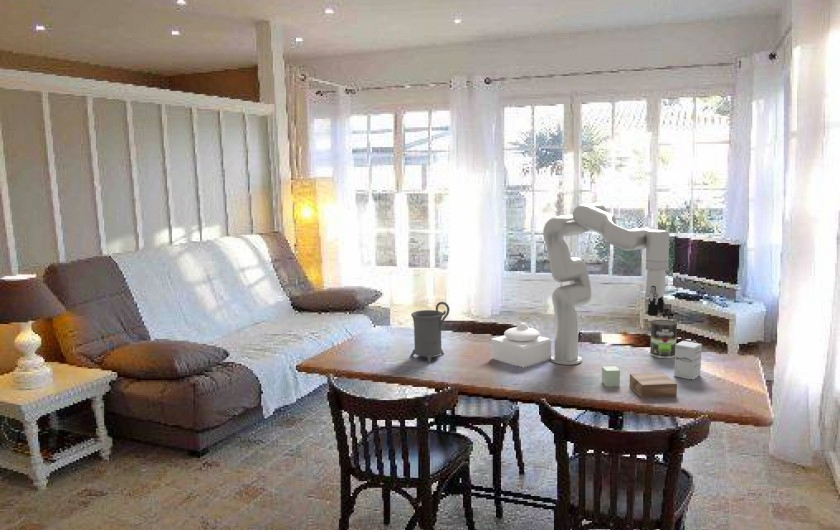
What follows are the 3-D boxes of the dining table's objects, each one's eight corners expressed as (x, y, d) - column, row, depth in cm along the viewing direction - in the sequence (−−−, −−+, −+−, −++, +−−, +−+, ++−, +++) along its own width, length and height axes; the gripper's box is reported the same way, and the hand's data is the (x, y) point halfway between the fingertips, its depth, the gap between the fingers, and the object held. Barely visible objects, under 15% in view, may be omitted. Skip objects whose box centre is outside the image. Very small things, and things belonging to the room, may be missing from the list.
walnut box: (629, 387, 231) (629, 374, 230) (662, 386, 231) (662, 372, 230) (642, 398, 219) (642, 385, 218) (676, 397, 219) (676, 383, 218)
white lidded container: (523, 368, 255) (523, 329, 253) (491, 359, 269) (490, 322, 267) (551, 359, 266) (551, 322, 264) (519, 350, 280) (518, 315, 278)
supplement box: (673, 376, 240) (674, 344, 238) (681, 371, 245) (682, 340, 243) (693, 380, 235) (694, 347, 233) (701, 375, 240) (702, 343, 238)
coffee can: (677, 359, 262) (679, 325, 260) (651, 357, 264) (652, 324, 262) (674, 352, 272) (675, 319, 269) (648, 351, 274) (649, 319, 272)
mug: (402, 360, 270) (401, 302, 266) (418, 351, 283) (416, 296, 279) (443, 365, 262) (441, 305, 258) (457, 355, 275) (456, 299, 271)
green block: (601, 382, 236) (602, 366, 235) (615, 381, 236) (615, 366, 235) (606, 386, 231) (606, 370, 230) (619, 386, 231) (620, 370, 230)
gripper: (651, 261, 233) (650, 307, 236) (640, 268, 219) (639, 316, 221) (672, 262, 229) (671, 308, 232) (663, 269, 215) (661, 318, 217)
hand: (655, 312), depth 227 cm, fingers open, 9 cm apart
